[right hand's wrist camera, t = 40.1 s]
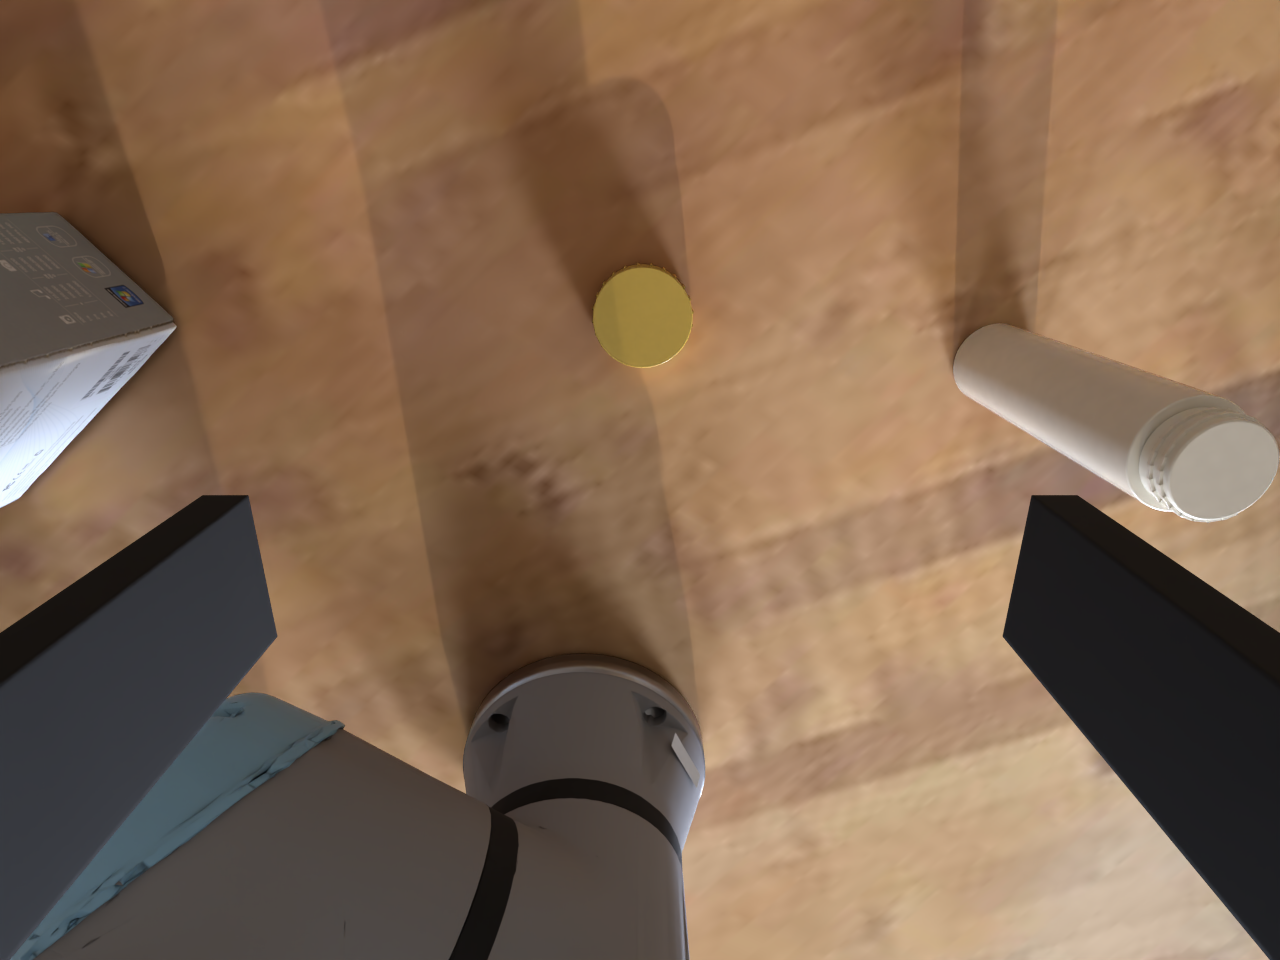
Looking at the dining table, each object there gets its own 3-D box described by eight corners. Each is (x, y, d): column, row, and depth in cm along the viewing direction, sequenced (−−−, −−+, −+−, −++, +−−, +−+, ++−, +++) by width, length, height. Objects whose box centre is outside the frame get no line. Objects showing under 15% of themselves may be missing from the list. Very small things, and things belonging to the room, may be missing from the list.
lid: (707, 333, 39) (710, 340, 37) (622, 378, 39) (621, 386, 38) (663, 244, 37) (665, 246, 35) (576, 292, 38) (572, 296, 36)
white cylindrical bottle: (942, 344, 39) (1144, 442, 23) (1021, 309, 38) (1282, 386, 23) (965, 414, 40) (1169, 550, 25) (1041, 381, 39) (1301, 500, 24)
